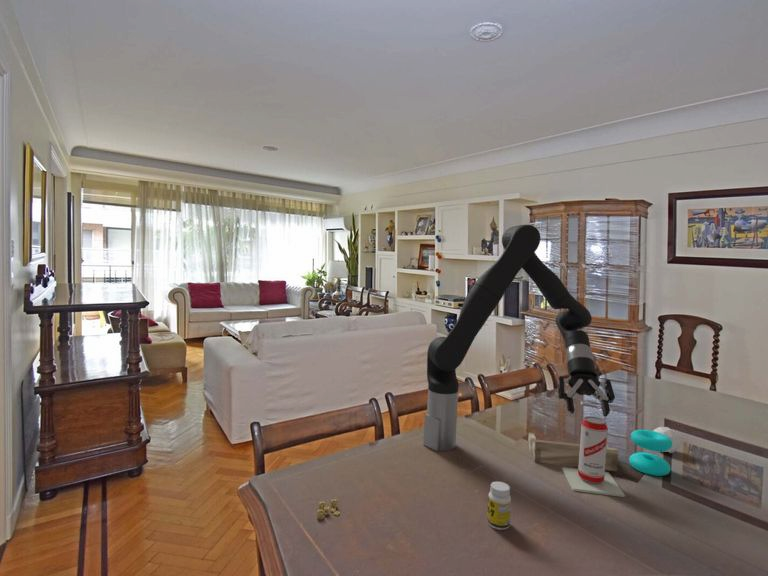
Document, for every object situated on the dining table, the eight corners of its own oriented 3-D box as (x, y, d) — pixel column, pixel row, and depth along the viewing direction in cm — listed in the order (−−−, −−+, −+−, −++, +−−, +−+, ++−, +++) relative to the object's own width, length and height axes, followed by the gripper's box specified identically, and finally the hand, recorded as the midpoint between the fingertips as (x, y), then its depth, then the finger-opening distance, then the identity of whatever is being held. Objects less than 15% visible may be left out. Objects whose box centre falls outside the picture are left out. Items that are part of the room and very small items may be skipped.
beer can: (607, 487, 110) (612, 425, 109) (581, 483, 111) (585, 422, 110) (600, 475, 116) (604, 417, 115) (575, 472, 117) (579, 414, 116)
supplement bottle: (483, 517, 95) (485, 480, 94) (504, 517, 95) (506, 480, 95) (491, 530, 90) (493, 491, 90) (513, 530, 91) (515, 491, 90)
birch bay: (617, 471, 120) (618, 450, 120) (534, 462, 124) (535, 441, 124) (602, 452, 132) (603, 433, 132) (527, 444, 136) (528, 426, 136)
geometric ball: (669, 459, 136) (688, 441, 134) (664, 457, 130) (684, 439, 129) (647, 440, 141) (665, 423, 140) (642, 437, 135) (661, 419, 134)
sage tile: (624, 497, 106) (624, 494, 106) (572, 490, 108) (573, 488, 108) (608, 474, 118) (608, 472, 118) (561, 469, 120) (562, 467, 120)
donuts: (635, 438, 119) (627, 425, 128) (633, 473, 119) (625, 458, 129) (677, 444, 115) (666, 431, 125) (675, 480, 116) (664, 465, 125)
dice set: (317, 522, 92) (317, 513, 92) (314, 509, 97) (315, 500, 97) (340, 520, 93) (341, 511, 93) (337, 507, 98) (337, 498, 98)
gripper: (557, 354, 126) (563, 404, 116) (609, 357, 124) (621, 409, 113) (552, 368, 132) (558, 417, 121) (603, 371, 129) (613, 422, 118)
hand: (589, 413), depth 117 cm, fingers open, 8 cm apart
